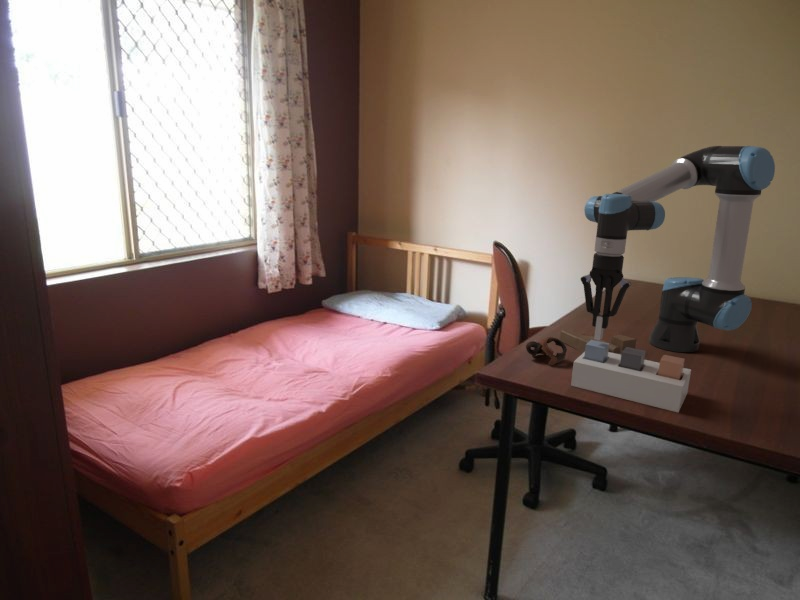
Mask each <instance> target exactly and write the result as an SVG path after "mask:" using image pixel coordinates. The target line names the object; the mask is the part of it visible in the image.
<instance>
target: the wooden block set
mask: <svg viewBox="0 0 800 600" xmlns="http://www.w3.org/2000/svg"><path fill="white" fill-rule="evenodd" d="M559 335H560V336H559V340H560V341H562V342H563V343H564V344H565V345H567V346H569V347H572V348H574V349H575V350H576V351H578V352H580V353H582V354H583V353H584V352H585V348H586V344H587V343H588V342H589V341H590V340H595V339H594V336H595V335H589V336H588V335H586V334H583V333H580V332H578V331H575V330H571V329H561V330H560V334H559ZM595 341H600V342H604V343H609V351H608V352H611V353H616V354H620V355H621V354H622V351H623V350H624V349H625V348H626V347H629V348H634V349H636V345H637V338H634V337H630V336H627V335H623V334H616V335H612V338H611V342H608V341H606V340H604V339H601V340H595Z"/></svg>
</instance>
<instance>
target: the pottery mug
mask: <svg viewBox="0 0 800 600" xmlns="http://www.w3.org/2000/svg"><path fill="white" fill-rule="evenodd" d="M552 342H554V343H555V345H556V346H557V347H561V349H562V352H557V353H556V355H555V354H554V353H555V352H554V350H552V349H551V348H550V347H549V345H548V344H550V343H552ZM525 348H526V349H525V350H526V352H527V353H528V354H529V355H531V357H532V358H533V359H536V357H537V355H544V356H548V357H549V359H550V360H549V361H548V365H549V366H552V367H554V365H556V364H558V363H561V362H562V361H564V360H565V358H566V356H567V354H566V353H567V351H568V348H567V346H566V344H565V343H563V342H562V341H560V338H556V337H553V336H552V337H551V336H549V337H546V338H545V339H542V340H540V341H538V342H537V341H535V340H533V341H532V340H531V341H529V342H527V343H526V345H525ZM532 348H533V349H532Z"/></svg>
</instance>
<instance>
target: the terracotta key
mask: <svg viewBox="0 0 800 600" xmlns="http://www.w3.org/2000/svg"><path fill="white" fill-rule="evenodd" d="M685 360H686V359H685V358H681V357H678V356H673V355H668V354H663V355H662V356H661V358H660V360H659V363H660V365H659V371H658V375H659V376H663V377H668V378H672V379H677V380H680V379H681V377H682V372H683V368H684V366H685Z"/></svg>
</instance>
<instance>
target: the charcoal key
mask: <svg viewBox="0 0 800 600" xmlns="http://www.w3.org/2000/svg"><path fill="white" fill-rule="evenodd" d="M646 352H647V351H646V350H643V349H637V348H635V349H634V348H629V347H626V348H625V349H624V350H623V351H622V354H621V353H620V355H621V362H620V367H623V368H628V369H632V370H637V371H642V369H643V367H644V360H646Z"/></svg>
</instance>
